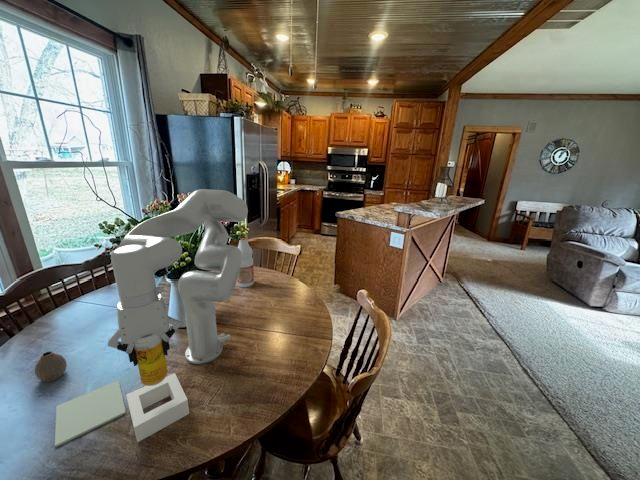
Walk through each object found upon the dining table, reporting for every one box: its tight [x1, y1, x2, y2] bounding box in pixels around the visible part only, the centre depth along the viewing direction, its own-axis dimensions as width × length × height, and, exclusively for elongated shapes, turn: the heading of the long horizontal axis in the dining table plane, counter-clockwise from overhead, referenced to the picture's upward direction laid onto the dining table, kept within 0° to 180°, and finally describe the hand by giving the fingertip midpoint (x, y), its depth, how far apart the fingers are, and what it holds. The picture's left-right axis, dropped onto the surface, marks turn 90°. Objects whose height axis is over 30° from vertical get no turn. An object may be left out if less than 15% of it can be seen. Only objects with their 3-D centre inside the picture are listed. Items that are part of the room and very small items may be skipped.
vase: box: [34, 350, 68, 383], centre depth 83 cm, size 7×7×9 cm
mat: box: [54, 380, 126, 448], centre depth 74 cm, size 14×14×1 cm
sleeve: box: [125, 372, 190, 443], centre depth 73 cm, size 12×12×5 cm
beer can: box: [134, 334, 169, 386], centre depth 69 cm, size 6×6×15 cm
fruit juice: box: [236, 235, 255, 288], centre depth 146 cm, size 9×9×28 cm
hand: (151, 356), depth 69 cm, fingers closed on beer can, 6 cm apart
